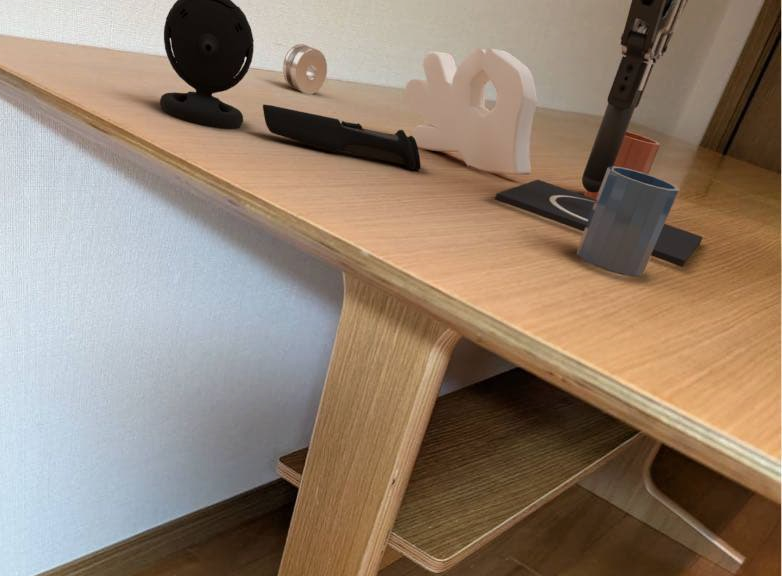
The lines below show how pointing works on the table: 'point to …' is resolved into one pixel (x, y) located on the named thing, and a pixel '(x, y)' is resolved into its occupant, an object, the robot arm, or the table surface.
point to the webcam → (207, 59)
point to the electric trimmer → (342, 136)
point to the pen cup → (626, 221)
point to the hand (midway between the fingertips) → (621, 105)
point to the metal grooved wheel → (305, 68)
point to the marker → (609, 141)
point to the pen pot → (634, 155)
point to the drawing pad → (578, 209)
